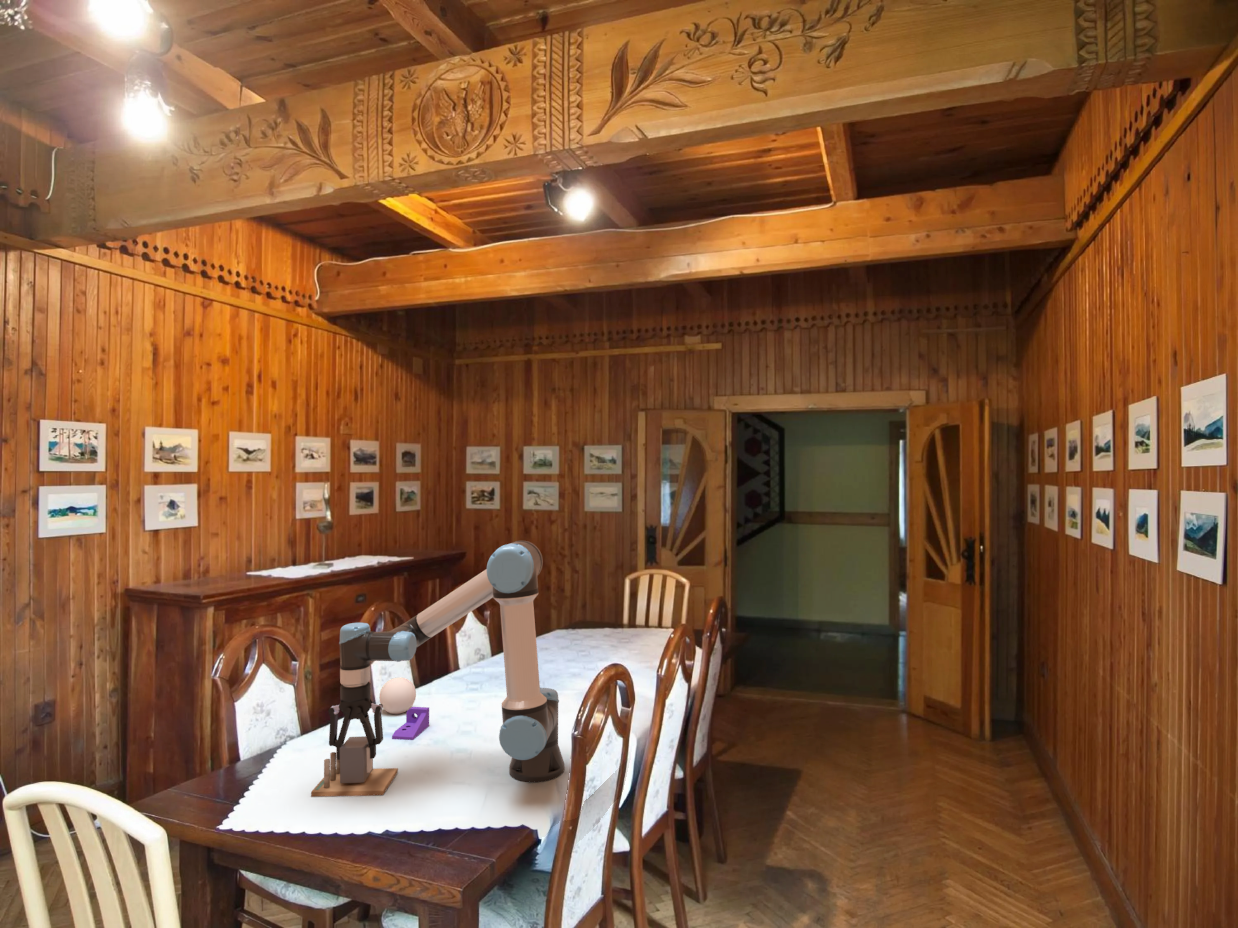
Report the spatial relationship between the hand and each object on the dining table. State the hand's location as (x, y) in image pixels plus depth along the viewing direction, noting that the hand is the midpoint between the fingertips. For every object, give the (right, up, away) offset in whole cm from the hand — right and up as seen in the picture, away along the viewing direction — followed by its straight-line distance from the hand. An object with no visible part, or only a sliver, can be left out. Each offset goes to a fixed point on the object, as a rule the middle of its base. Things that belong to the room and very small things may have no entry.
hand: (356, 770), depth 189 cm
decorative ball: (-7, -5, +57) cm, 57 cm away
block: (0, -1, 0) cm, 1 cm away
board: (0, -3, 0) cm, 3 cm away
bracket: (+4, -5, +37) cm, 37 cm away
